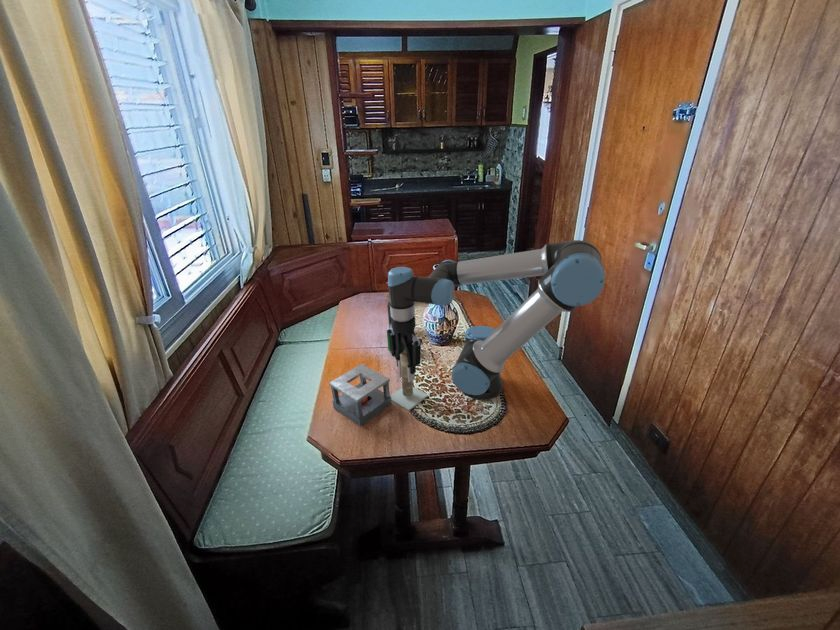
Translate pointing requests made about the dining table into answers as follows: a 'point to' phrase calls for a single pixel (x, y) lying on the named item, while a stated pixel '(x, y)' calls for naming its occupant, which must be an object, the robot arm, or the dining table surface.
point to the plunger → (364, 400)
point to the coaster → (408, 398)
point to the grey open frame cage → (361, 394)
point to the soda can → (389, 340)
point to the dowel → (405, 375)
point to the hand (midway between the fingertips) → (406, 377)
